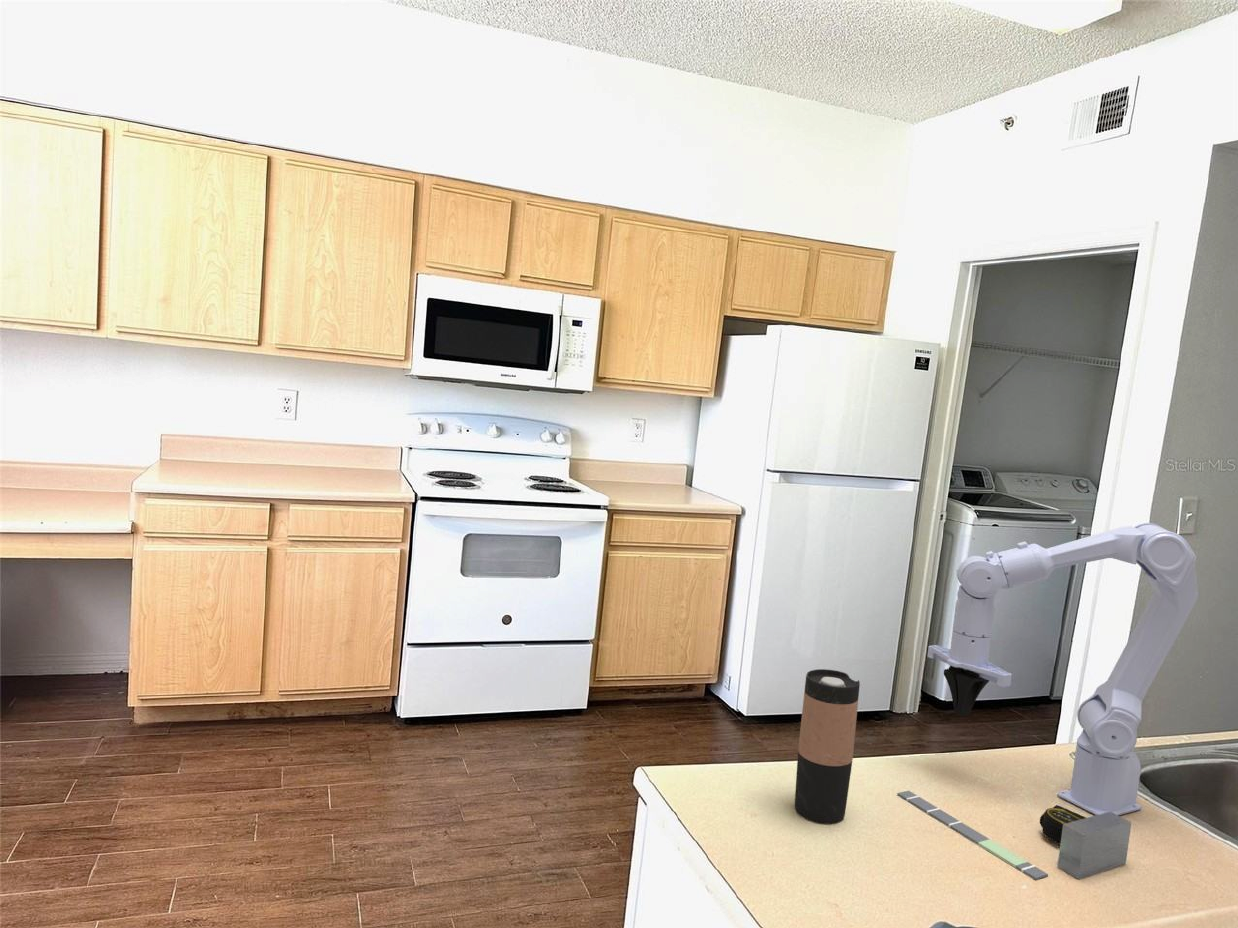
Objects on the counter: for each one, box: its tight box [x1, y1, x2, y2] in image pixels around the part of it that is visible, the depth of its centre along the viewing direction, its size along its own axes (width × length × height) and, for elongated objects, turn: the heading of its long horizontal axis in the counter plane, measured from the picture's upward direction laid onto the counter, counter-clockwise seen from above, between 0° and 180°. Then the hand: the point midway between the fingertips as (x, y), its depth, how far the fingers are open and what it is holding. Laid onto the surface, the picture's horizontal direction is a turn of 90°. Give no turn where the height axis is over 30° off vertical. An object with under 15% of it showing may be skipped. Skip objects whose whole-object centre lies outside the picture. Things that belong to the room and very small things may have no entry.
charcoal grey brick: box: [1057, 812, 1132, 880], centre depth 117 cm, size 10×4×6 cm, turn 118°
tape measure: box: [1039, 805, 1087, 845], centre depth 123 cm, size 7×7×4 cm
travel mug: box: [794, 668, 861, 825], centre depth 125 cm, size 8×8×20 cm
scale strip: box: [896, 790, 1049, 881], centre depth 123 cm, size 2×24×1 cm, turn 28°
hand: (961, 714), depth 140 cm, fingers closed
